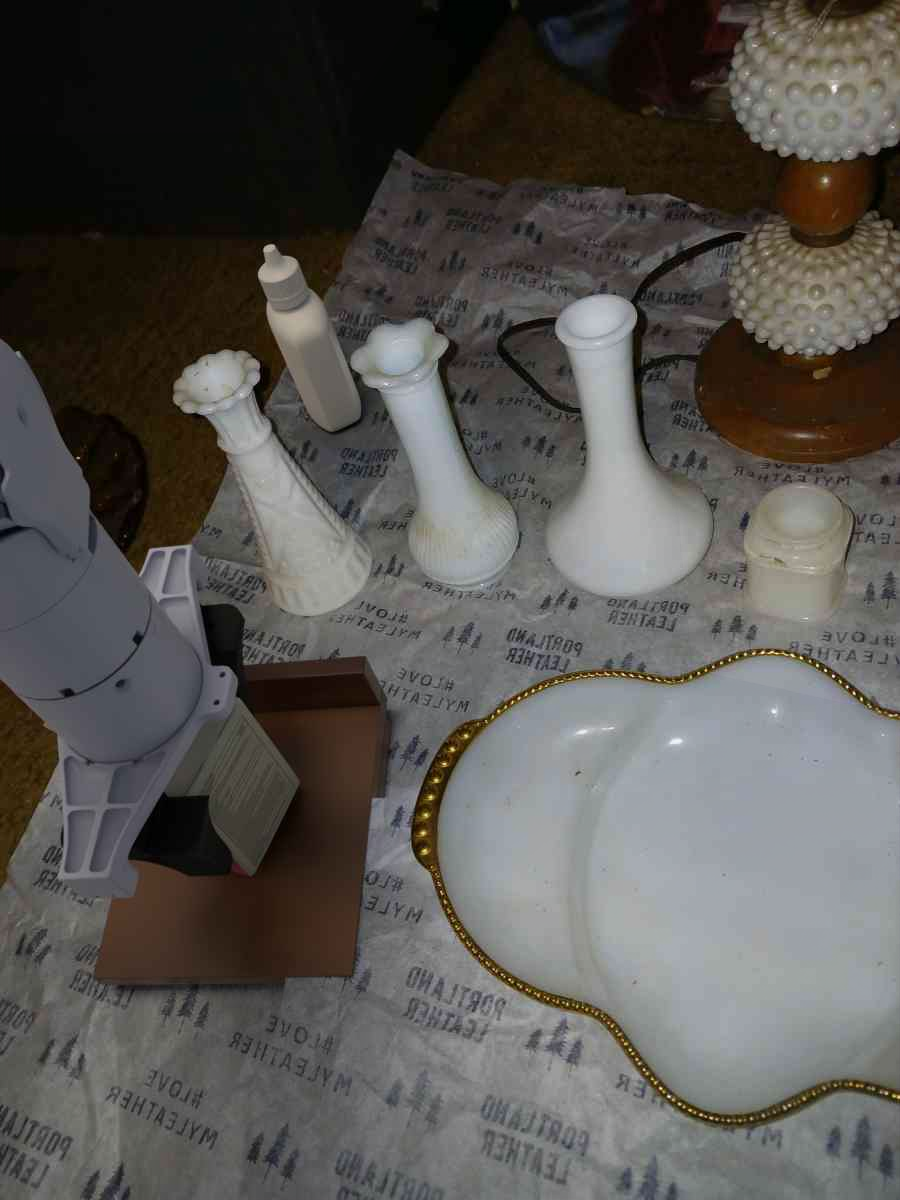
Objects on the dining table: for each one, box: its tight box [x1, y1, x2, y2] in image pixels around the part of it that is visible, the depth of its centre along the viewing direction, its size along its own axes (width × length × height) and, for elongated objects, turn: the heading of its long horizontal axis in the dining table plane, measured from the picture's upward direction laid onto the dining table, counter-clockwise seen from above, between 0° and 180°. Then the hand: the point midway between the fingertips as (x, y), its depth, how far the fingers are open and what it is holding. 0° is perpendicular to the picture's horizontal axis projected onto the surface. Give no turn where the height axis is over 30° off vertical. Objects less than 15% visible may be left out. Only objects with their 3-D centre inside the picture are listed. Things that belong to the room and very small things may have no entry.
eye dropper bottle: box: [257, 243, 362, 433], centre depth 64 cm, size 4×6×12 cm
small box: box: [163, 697, 300, 876], centre depth 46 cm, size 5×4×8 cm
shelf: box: [92, 655, 392, 986], centre depth 50 cm, size 14×12×5 cm
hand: (223, 799), depth 48 cm, fingers closed on small box, 6 cm apart
